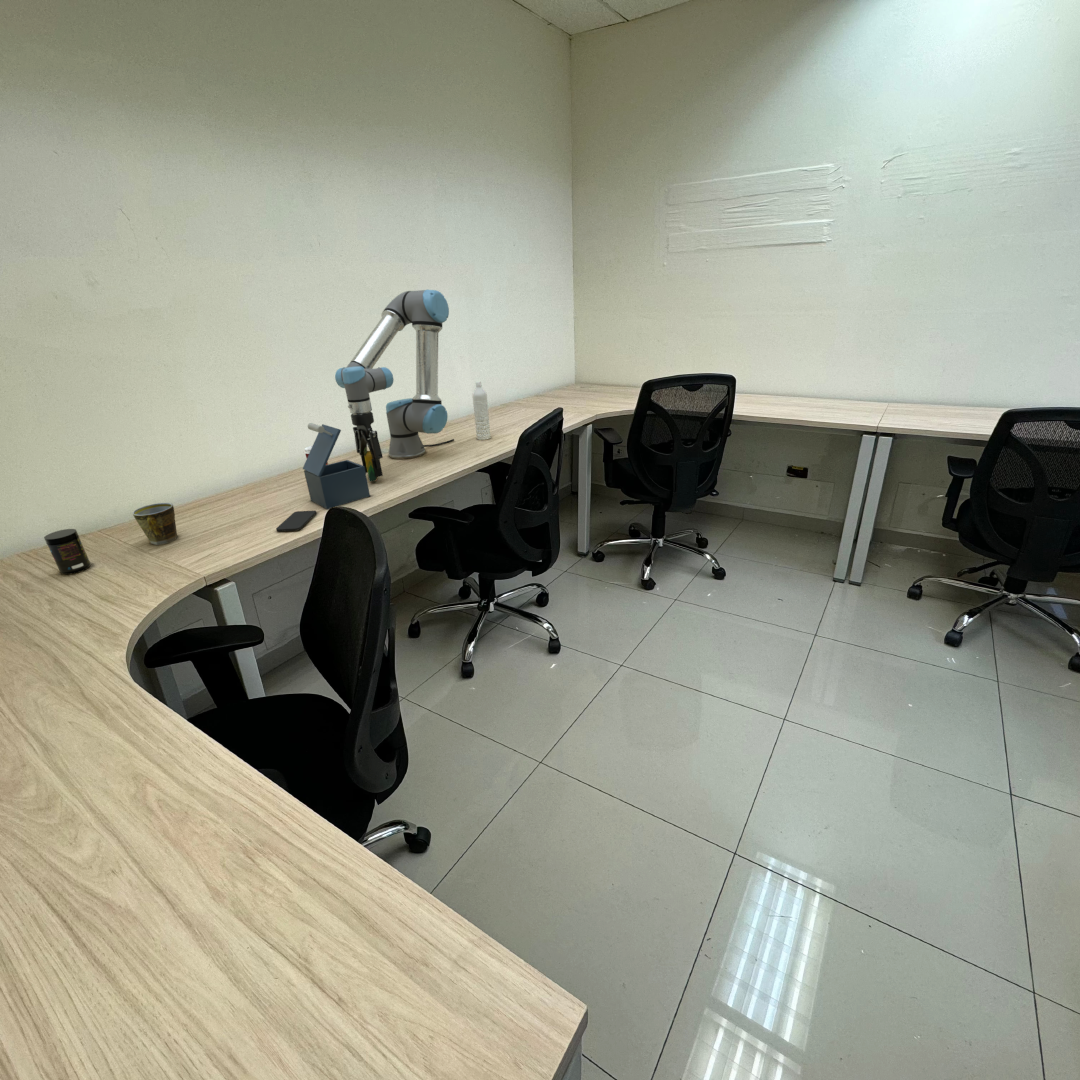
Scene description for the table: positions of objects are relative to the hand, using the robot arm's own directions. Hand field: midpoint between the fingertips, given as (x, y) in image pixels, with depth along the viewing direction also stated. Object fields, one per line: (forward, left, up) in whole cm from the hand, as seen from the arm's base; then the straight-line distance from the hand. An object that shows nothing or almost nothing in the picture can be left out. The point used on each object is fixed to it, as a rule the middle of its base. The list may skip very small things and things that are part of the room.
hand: (373, 474), depth 205 cm
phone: (+36, +18, -3) cm, 41 cm away
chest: (+17, +8, -3) cm, 19 cm away
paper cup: (+14, -13, -3) cm, 20 cm away
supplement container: (+90, +3, -3) cm, 90 cm away
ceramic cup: (+69, +1, -3) cm, 69 cm away
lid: (+20, +8, +15) cm, 26 cm away
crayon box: (0, 0, -2) cm, 2 cm away
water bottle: (-66, -17, -3) cm, 68 cm away
